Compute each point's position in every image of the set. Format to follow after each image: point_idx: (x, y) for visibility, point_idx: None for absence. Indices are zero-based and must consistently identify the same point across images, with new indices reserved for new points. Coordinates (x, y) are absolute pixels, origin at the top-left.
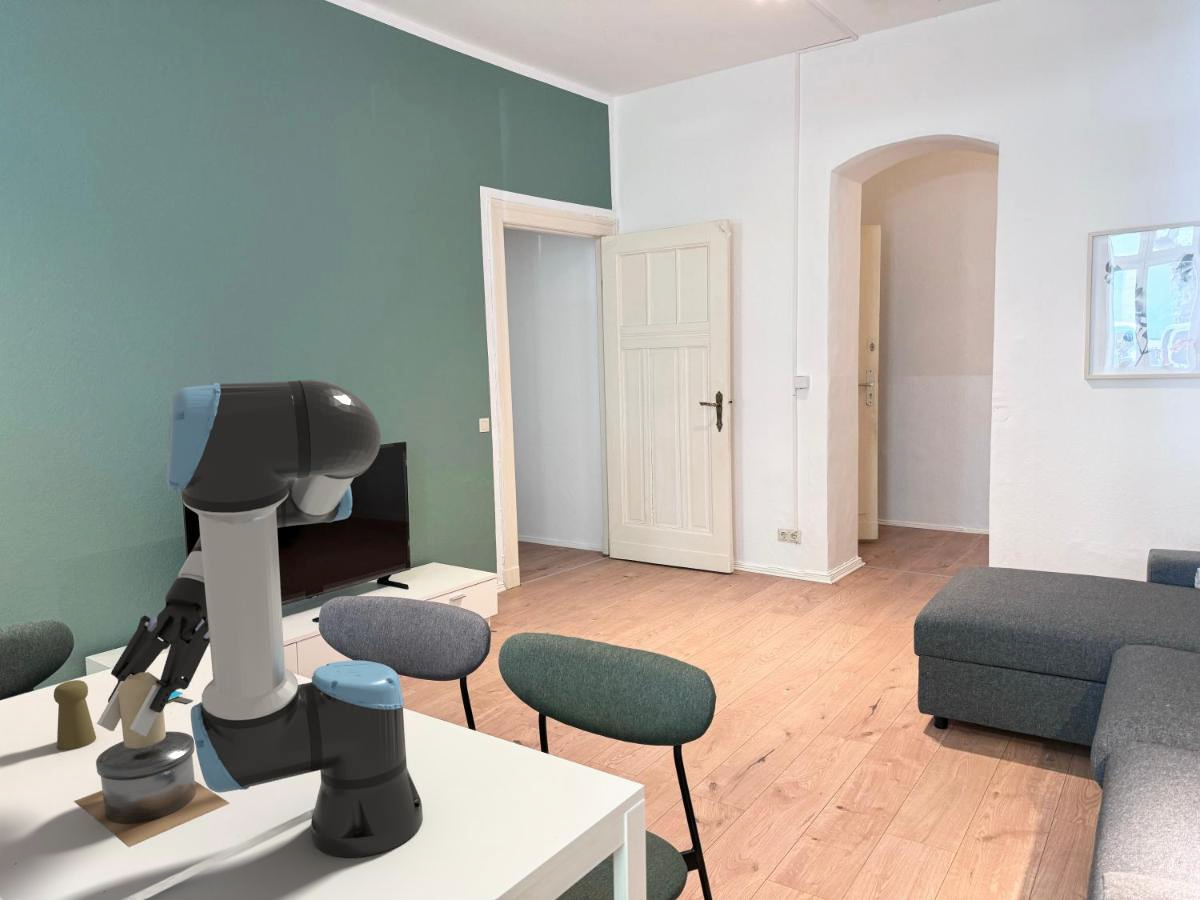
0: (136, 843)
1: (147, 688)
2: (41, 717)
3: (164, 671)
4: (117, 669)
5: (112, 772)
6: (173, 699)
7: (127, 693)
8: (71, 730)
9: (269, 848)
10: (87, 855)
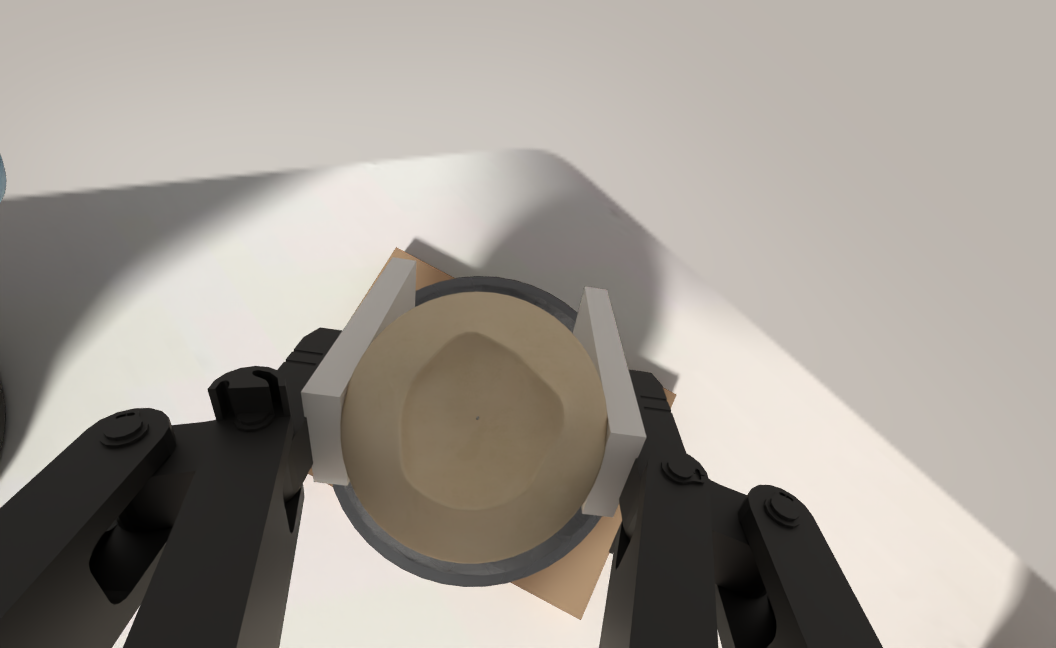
0: (388, 259)
1: (361, 359)
2: None
3: (252, 496)
4: (773, 527)
5: (485, 277)
6: None
7: (464, 292)
8: None
9: (97, 325)
10: (495, 251)
